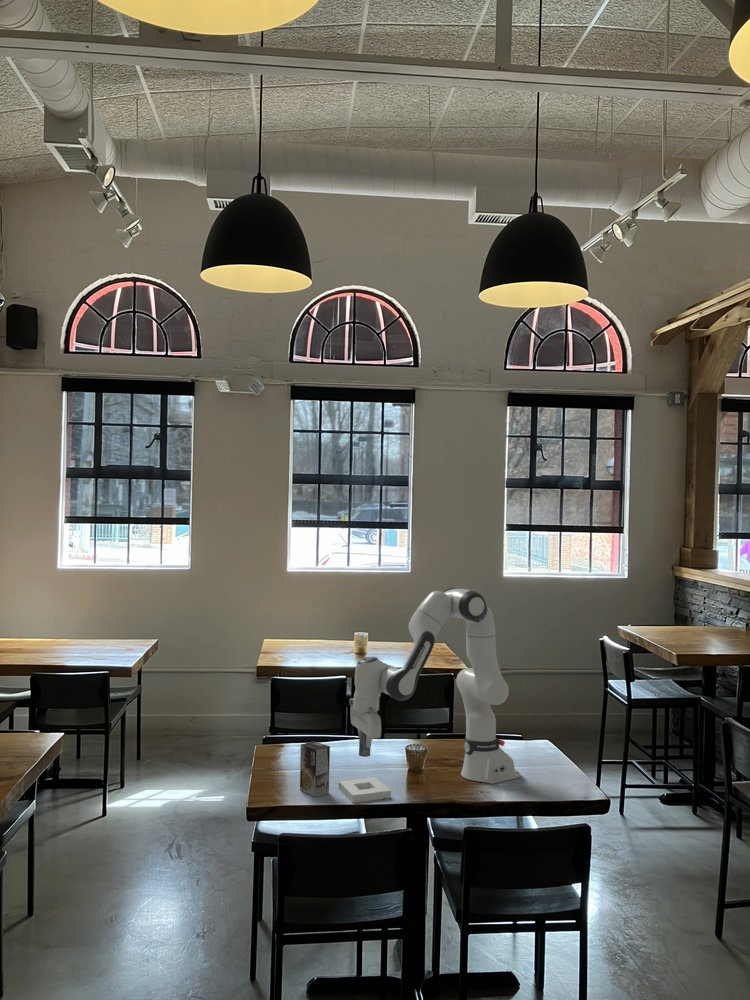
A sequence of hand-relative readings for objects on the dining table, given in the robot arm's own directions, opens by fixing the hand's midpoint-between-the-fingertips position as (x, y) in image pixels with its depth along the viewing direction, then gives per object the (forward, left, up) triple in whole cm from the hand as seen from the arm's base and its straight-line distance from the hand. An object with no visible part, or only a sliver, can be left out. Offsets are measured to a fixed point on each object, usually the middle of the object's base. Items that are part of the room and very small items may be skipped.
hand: (365, 744), depth 260 cm
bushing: (0, 0, -4) cm, 4 cm away
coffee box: (+16, -7, -17) cm, 24 cm away
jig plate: (0, 0, -17) cm, 17 cm away
